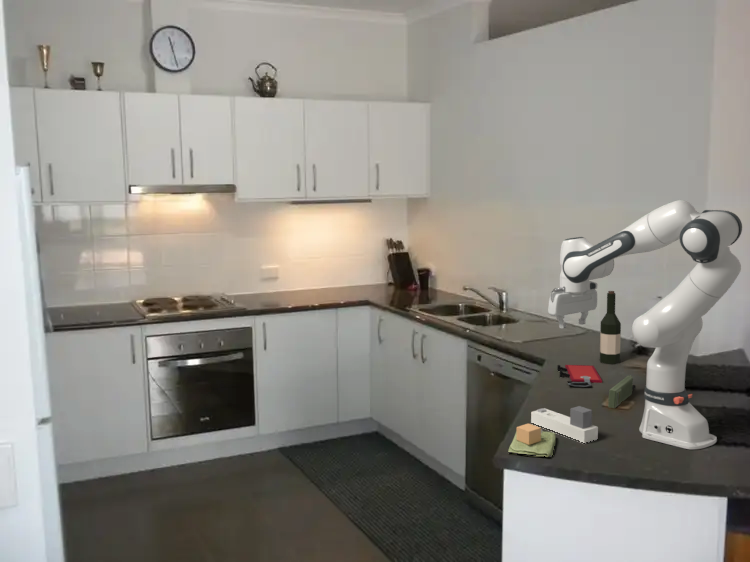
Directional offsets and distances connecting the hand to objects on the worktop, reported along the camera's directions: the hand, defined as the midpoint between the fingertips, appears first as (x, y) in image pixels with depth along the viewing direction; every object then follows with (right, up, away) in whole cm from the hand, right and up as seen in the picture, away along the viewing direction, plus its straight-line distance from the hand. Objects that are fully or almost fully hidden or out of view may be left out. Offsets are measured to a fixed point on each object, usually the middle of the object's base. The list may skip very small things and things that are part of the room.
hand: (572, 326), depth 251 cm
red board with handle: (+14, -23, +42) cm, 50 cm away
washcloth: (-19, -35, -27) cm, 48 cm away
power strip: (-7, -32, -16) cm, 37 cm away
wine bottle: (+32, -19, +63) cm, 73 cm away
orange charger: (-17, -30, -27) cm, 44 cm away
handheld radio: (+22, -27, +15) cm, 38 cm away
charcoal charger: (-3, -31, -22) cm, 38 cm away
